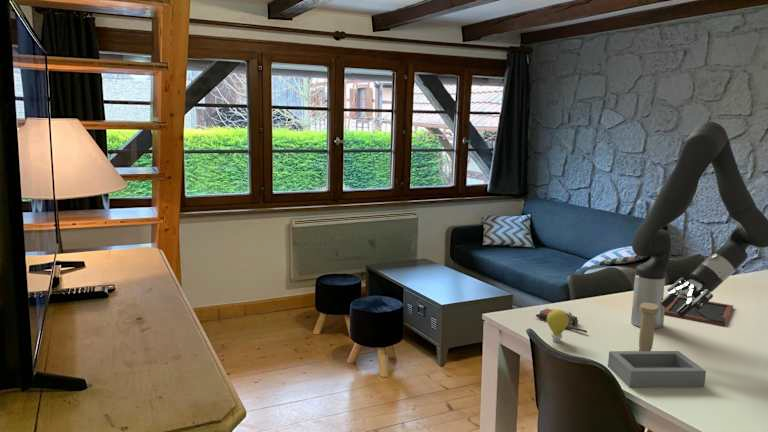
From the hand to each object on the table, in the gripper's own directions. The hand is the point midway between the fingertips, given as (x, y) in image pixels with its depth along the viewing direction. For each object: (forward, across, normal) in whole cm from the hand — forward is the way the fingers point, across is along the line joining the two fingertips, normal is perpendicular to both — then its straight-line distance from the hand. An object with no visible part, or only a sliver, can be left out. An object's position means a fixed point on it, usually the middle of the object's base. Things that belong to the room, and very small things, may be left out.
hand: (670, 310), depth 166 cm
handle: (+14, 0, +5) cm, 15 cm away
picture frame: (-14, -39, +34) cm, 53 cm away
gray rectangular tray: (+18, +15, +2) cm, 23 cm away
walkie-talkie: (+25, -26, -5) cm, 36 cm away
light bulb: (+31, -11, -11) cm, 34 cm away
